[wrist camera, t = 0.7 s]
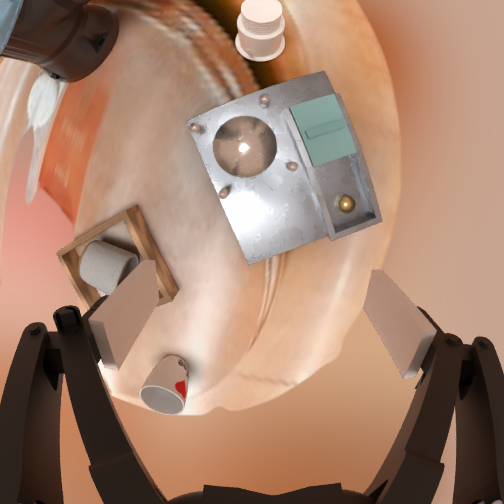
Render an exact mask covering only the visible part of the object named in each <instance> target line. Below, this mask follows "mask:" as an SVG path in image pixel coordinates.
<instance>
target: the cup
mask: <svg viewBox="0 0 504 504" xmlns="http://www.w3.org/2000/svg"><path fill="white" fill-rule="evenodd" d="M188 377H189V376H188V368H187V364H186V362H185V361H184V360H183V359H182V358H180V357H178V356H175V355H168V356H166V357H165V358H163V359H162V360H161V361H160V362H159V363H158V364H157V365H156V366H155V368H154V369H153V370H152V372H151V373H150V374H149V376H148V377H147V379H146V381H145V383H144V385H143V386H142V388H141V390H140V393H139V394H140V398H141V400H142V401H143V403H144V404H145V405H147V406H148V407H149V408H151V409H152V410H154V411H156V412H159V413H162V414H166V415H176V414H179V413H181V412H182V411H183V410H184V407H185V402H186V396H187V391H188Z"/></svg>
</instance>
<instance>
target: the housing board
mask: <svg viewBox="0 0 504 504" xmlns="http://www.w3.org/2000/svg"><path fill="white" fill-rule="evenodd" d="M331 94H334V95H335V97H336V100H337V102H338V104H339V107H340V109H341V112H342V114H343V116H344V119H345V121H346V124H347V127H348V129H349V132H350V134H351V137H352V140H353V143H354V145H355V148H356V151H357V152H356V153H353V154H350V155H347V156H344V157H341V158H338V159H335V160H332V161H329V162H326V163H323V164H320V165H318V166H315V167H312V164H311V162H310V159H309V156H308V154H307V151H306V149H305V146H304V144H303V141H302V139H301V136H300V134H299V131H298V129H297V127H296V124H295V122H294V120H293V117H292V115H291V113H290V110H289V107H291V106H294V105H297V104H300V103H304V102H307V101H310V100H313V99H317V98H320V97H324V96H327V95H331ZM186 122H187V125H188V127H189V129H190V132H191V134H192V136H193V139H194V141H195V143H196V146H197V148H198V150H199V153H200V155H201V157H202V160H203V162H204V164H205V166H206V169H207V171H208V173H209V176H210V178H211V180H212V183H213V185H214V187H215V190H216V192H217V194H218V196H219V199H220V201H221V203H222V206H223V208H224V210H225V212H226V215H227V217H228V219H229V222H230V224H231V226H232V228H233V231H234V233H235V235H236V238H237V240H238V242H239V244H240V247H241V249H242V251H243V253H244V256H245V258H246V260H247V262H248V265H251V264H254V263H256V262H259V261H262V260H265V259H267V258H270V257H273V256H275V255H278V254H281V253H283V252H286V251H289V250H291V249H294V248H297V247H300V246H302V245H305V244H308V243H310V242H313V241H315V240H318V239H321V238H323V237H326V236H328V237H329V239H330V240H331V241H333V240H336V239H338V238H341V237H344V236H346V235H349V234H351V233H354V232H357V231H359V230H362V229H364V228H367V227H369V226H372V225H375V224H377V223H380V222H382V218H381V214H380V210H379V206H378V202H377V198H376V195H375V191H374V188H373V184H372V181H371V178H370V174H369V171H368V168H367V165H366V162H365V159H364V156H363V153H362V150H361V147H360V144H359V142H358V139H357V136H356V133H355V131H354V128H353V125H352V123H351V120H350V118H349V115H348V113H347V110H346V108H345V105H344V103H343V101H342V98H341V96H340V94H339V93H337V94H335V92H334V90H333V88H332V86H331V83H330V81H329V79H328V77H327V75H326V73H325V71H322V72H318V73H314V74H310V75H307V76H303V77H299V78H296V79H293V80H289V81H286V82H283V83H280V84H277V85H274V86H271V87H268V88H265V89H262V90H259V91H257V92H254V93H251V94H248V95H246V96H243V97H241V98H238V99H235V100H233V101H231V102H228V103H226V104H223V105H221V106H219V107H216V108H214V109H212V110H209V111H207V112H205V113H203V114H200V115H198V116H196V117H194V118H192V119H190V120H188V121H186Z"/></svg>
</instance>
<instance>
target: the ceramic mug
mask: <svg viewBox="0 0 504 504" xmlns="http://www.w3.org/2000/svg"><path fill="white" fill-rule="evenodd" d="M138 264H139V260H138V256H137V255H136V254H134V253H131V252H129V251H126V250H124V249H121V248H118V247H116V246H113V245H111V244H109V243H106V242H103V241H98V240H95V241H92V242H91V243H89V244H88V245H87V246H86V247H85V249H84V250H83V252H82V254H81V257H80V259H79V265H78V270H79V275H80V277H81V278H82V279H83V280H84V281H85V282H86V283H88V284H89V285H91V286H93V287H95V288H97V289H99V290H101V291H102V292H104V293H105V294H106V295H110V294H111V293H112V292H113V291H114V290H115V289H116V288H117V287H118V286H119V285H120V284H121V283H122V281H123V280H124V279H125V278H126V277H127V276H128V275H129V274H130V273H131V272H132V271H133V270H134V269H135V268H136V267H137V266H138Z"/></svg>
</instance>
